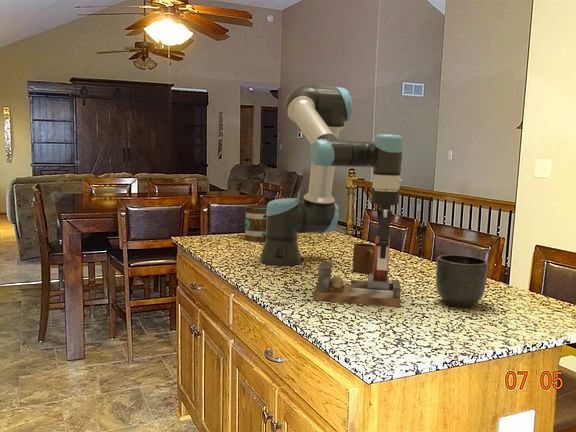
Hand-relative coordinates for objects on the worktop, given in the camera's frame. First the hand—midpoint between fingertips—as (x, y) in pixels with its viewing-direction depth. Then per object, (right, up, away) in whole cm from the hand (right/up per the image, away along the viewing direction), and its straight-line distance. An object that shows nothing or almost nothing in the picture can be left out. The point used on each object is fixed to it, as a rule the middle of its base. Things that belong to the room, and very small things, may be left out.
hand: (381, 264), depth 153 cm
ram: (-1, -8, +1) cm, 8 cm away
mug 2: (0, -6, +34) cm, 35 cm away
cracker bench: (-7, -10, +2) cm, 12 cm away
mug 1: (-39, +2, +90) cm, 98 cm away
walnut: (-12, -7, +3) cm, 15 cm away
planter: (+22, -11, 0) cm, 25 cm away
